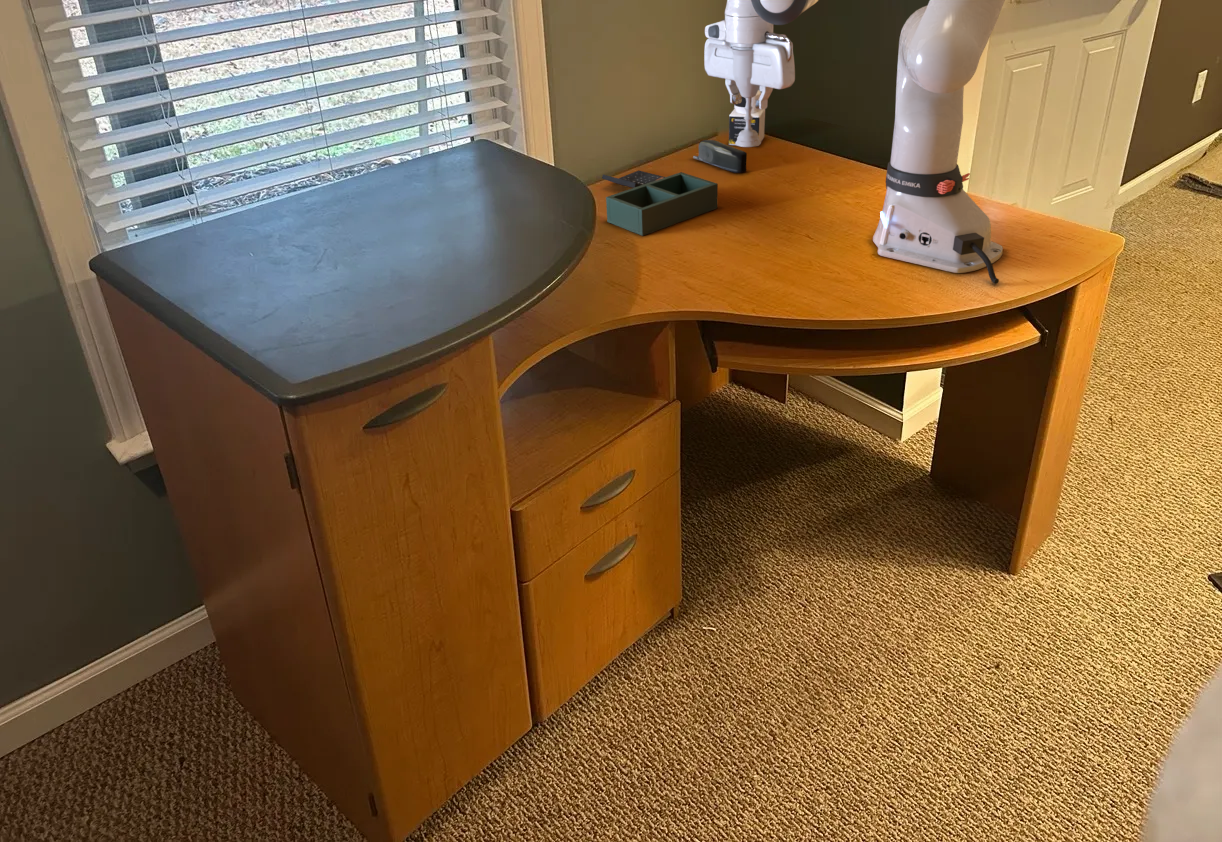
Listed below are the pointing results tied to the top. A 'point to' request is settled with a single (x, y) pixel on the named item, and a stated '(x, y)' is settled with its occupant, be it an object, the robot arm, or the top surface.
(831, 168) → the top surface
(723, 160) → the stapler
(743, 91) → the chalice
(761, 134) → the medicine bottle
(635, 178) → the calculator
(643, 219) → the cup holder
